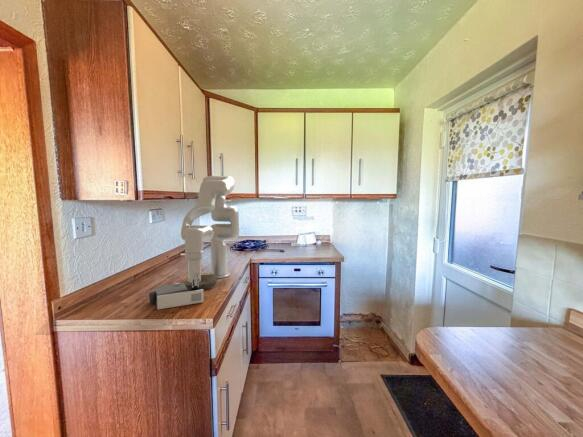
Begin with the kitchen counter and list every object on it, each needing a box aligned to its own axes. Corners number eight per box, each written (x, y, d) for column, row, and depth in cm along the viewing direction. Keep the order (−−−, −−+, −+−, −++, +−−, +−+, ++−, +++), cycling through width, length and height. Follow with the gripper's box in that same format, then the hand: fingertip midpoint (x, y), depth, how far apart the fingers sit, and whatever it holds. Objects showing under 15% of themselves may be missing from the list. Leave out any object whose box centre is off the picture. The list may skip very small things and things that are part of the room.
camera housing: (148, 300, 109) (148, 286, 108) (183, 294, 117) (182, 280, 116) (150, 310, 99) (150, 294, 99) (188, 302, 107) (187, 287, 107)
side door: (157, 308, 100) (157, 295, 100) (203, 301, 108) (203, 289, 108) (157, 309, 99) (157, 296, 98) (203, 302, 107) (203, 290, 106)
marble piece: (181, 292, 120) (180, 284, 120) (186, 282, 134) (186, 275, 134) (216, 289, 124) (215, 281, 124) (217, 280, 138) (217, 273, 138)
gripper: (184, 252, 112) (185, 291, 114) (185, 260, 99) (187, 303, 100) (201, 251, 115) (202, 288, 117) (205, 258, 102) (206, 300, 103)
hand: (195, 295), depth 108 cm, fingers closed
